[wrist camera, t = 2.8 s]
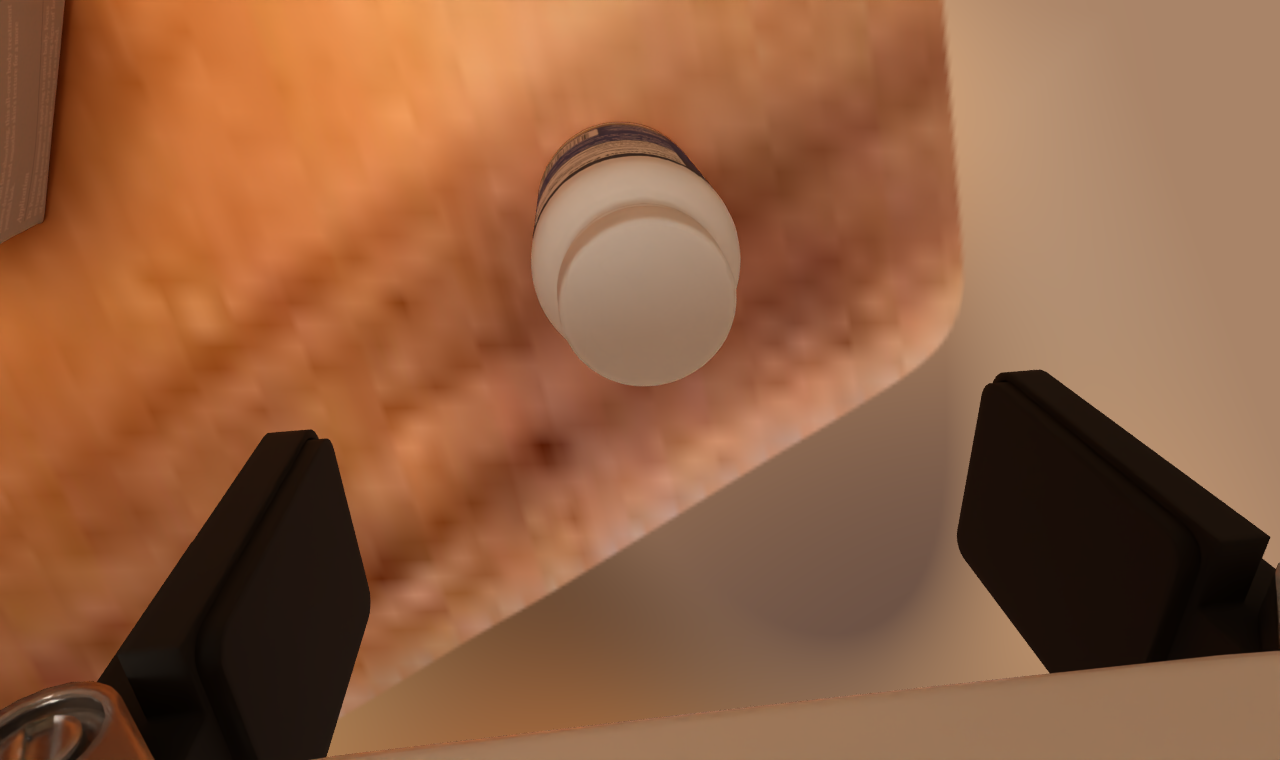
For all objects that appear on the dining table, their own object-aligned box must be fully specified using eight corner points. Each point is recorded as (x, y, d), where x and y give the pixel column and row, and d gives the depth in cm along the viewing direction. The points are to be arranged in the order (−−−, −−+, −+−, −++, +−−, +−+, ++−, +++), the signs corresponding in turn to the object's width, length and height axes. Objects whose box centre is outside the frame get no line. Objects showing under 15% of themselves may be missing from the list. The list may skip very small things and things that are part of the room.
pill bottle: (697, 277, 27) (760, 411, 18) (544, 283, 26) (533, 422, 18) (701, 116, 24) (777, 181, 16) (532, 120, 24) (514, 189, 15)
